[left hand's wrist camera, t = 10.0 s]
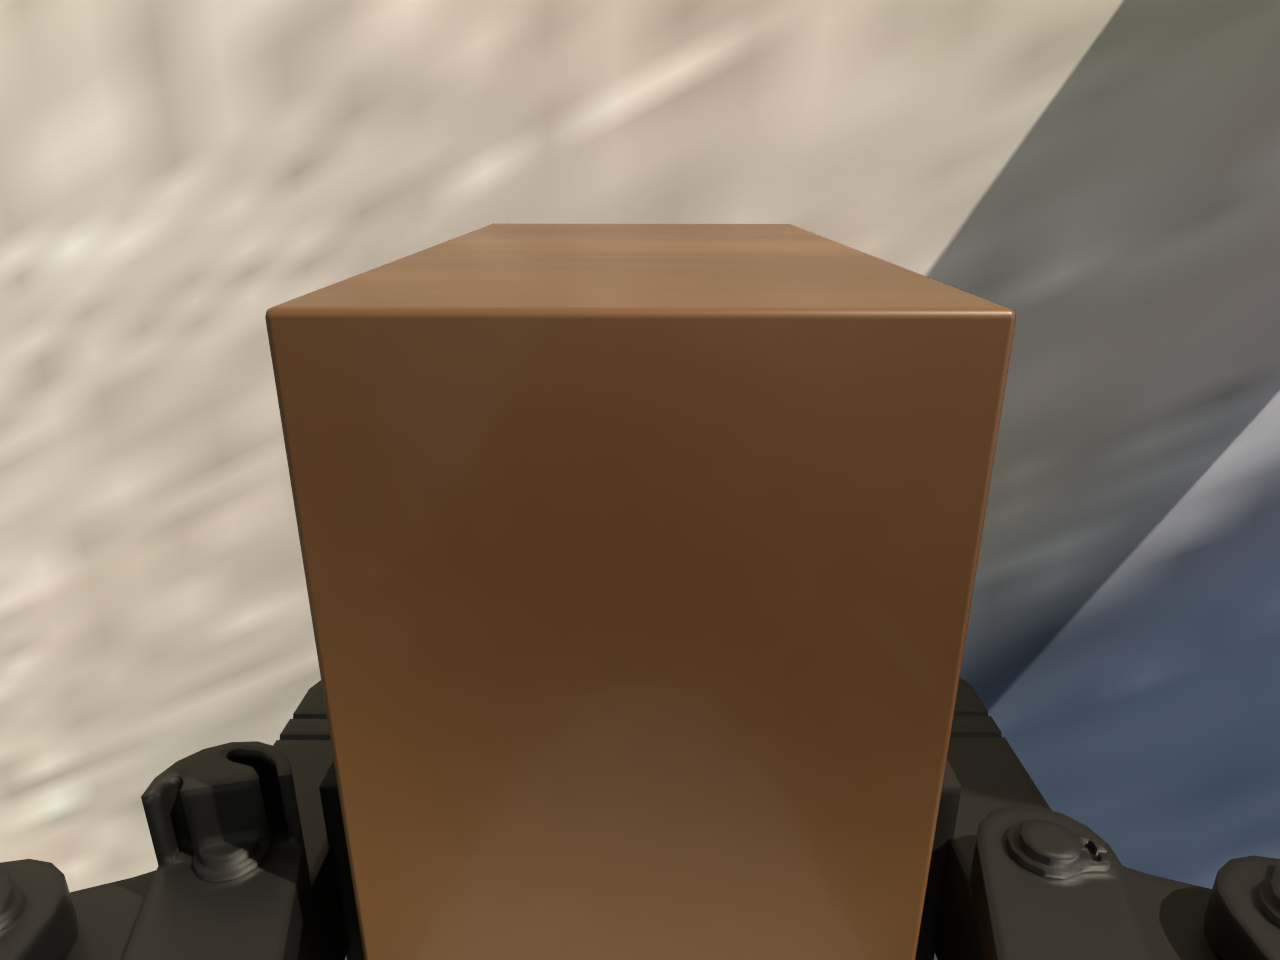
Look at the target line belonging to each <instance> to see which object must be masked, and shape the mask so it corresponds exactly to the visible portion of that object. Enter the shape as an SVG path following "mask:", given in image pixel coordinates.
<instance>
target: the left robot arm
mask: <svg viewBox="0 0 1280 960" xmlns="http://www.w3.org/2000/svg"><path fill="white" fill-rule="evenodd" d="M141 798H142V802H143V806H144V810H145V814H146V818H147V822H148V826H149V830H150V834H151V838H152V842H153V846H154V850H155V853H156V857H157V861H158V865H159V866H158V869H157V870H156V871H153V872H149V873H146V874H143V875H140V876H137V877H133V878H129V879H125V880H121V881H117V882H112V883H108V884H104V885H100V886H96V887H91V888H87V889H83V890H79V891H75V892H71V893H69V889H68V886H67V883H66V880H65V876H64V874H63V873H62V872H61V871H60V870H59V869H57V868H56V867H55V866H54V865H53V864H52V863H49V862H43V861H38V860H32V859H25V860H18V861H10V862H3V863H0V960H345V957H346V956H347V960H365V959H364V953H363V946H362V940H361V933H360V927H359V920H358V914H357V908H356V901H355V895H354V888H353V882H352V875H351V869H350V862H349V856H348V849H347V843H346V836H345V830H344V823H343V817H342V810H341V804H340V797H339V791H338V784H337V778H336V771H335V765H334V759H333V752H332V746H331V739H330V733H329V726H328V720H327V713H326V707H325V700H324V694H323V687H322V681H319V682H318V683H317V684H315V685H314V686H313V687H311V688H310V689H309V690H308V692H307V694H306V695H305V697H304V698H303V700H302V701H301V703H300V705H299V706H298V708H297V709H296V711H295V712H294V714H293V719H290V720H289V722H288V723H287V725H286V726H285V728H284V730H283V731H282V733H281V734H280V740H277V741H276V742H275V744H274V745H273V746H272V745H268V744H264V743H261V742H231V743H227V744H223V745H219V746H215V747H211V748H207V749H203V750H201V751H199V752H197V753H195V754H192V755H190V756H188V757H186V758H184V759H182V760H179V761H177V762H176V763H174V764H173V765H172V766H170V767H169V768H168V769H166V770H165V771H164V772H162V773H161V774H160V775H158V776H157V777H156V778H155V779H154V780H153V781H152V783H151V784H150V785H149V787H148V788H147V790H146V791H145V792H144V794H143V795H142V796H141ZM934 954H936V956H937V959H938V960H1280V859H1274V858H1267V857H1260V856H1248V857H1242V858H1236V859H1231V860H1229V861H1228V862H1227V863H1226V864H1225V865H1224V866H1223V867H1222V868H1221V869H1220V870H1219V871H1218V873H1217V876H1216V879H1215V882H1214V886H1213V889H1208V888H1204V887H1200V886H1195V885H1191V884H1187V883H1183V882H1179V881H1174V880H1170V879H1166V878H1162V877H1158V876H1153V875H1149V874H1146V873H1143V872H1139V871H1136V870H1133V869H1130V868H1127V867H1124V866H1122V865H1121V863H1120V861H1119V860H1118V858H1117V857H1116V855H1115V854H1114V852H1113V850H1112V849H1111V847H1110V846H1109V844H1107V843H1106V842H1105V841H1104V840H1103V839H1101V838H1100V837H1099V836H1098V835H1097V834H1096V833H1094V832H1093V831H1092V830H1091V829H1090V828H1089V827H1087V826H1085V825H1083V824H1081V823H1079V822H1077V821H1075V820H1074V819H1072V818H1070V817H1068V816H1066V815H1064V814H1062V813H1058V812H1054V811H1052V810H1051V809H1050V807H1049V806H1048V804H1047V802H1046V801H1045V799H1044V798H1043V796H1042V795H1041V793H1040V792H1039V790H1038V788H1037V787H1036V785H1035V784H1034V782H1033V781H1032V779H1031V778H1030V776H1029V774H1028V773H1027V771H1026V770H1025V768H1024V767H1023V765H1022V764H1021V762H1020V761H1019V759H1018V757H1017V756H1016V754H1015V753H1014V751H1013V750H1012V748H1011V747H1010V745H1009V743H1008V742H1007V740H1006V739H1005V738H1002V736H1001V731H1000V729H999V728H998V726H997V725H996V723H995V722H994V720H993V719H992V717H991V716H988V711H987V709H986V708H985V706H984V705H983V703H982V701H981V700H980V698H979V697H978V695H977V694H976V692H975V691H974V689H973V687H972V686H971V685H969V684H968V683H967V682H965V681H964V680H963V679H961V678H960V677H959V683H958V689H957V695H956V702H955V708H954V714H953V721H952V727H951V733H950V740H949V746H948V753H947V759H946V765H945V772H944V778H943V784H942V791H941V797H940V803H939V810H938V816H937V822H936V829H935V835H934V841H933V848H932V854H931V860H930V867H929V873H928V879H927V886H926V892H925V899H924V905H923V911H922V918H921V924H920V930H919V937H918V943H917V949H916V956H915V960H934Z"/></svg>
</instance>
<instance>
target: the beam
mask: <svg viewBox="0 0 1280 960" xmlns="http://www.w3.org/2000/svg"><path fill="white" fill-rule="evenodd" d="M265 318H266V324H267V331H268V337H269V344H270V350H271V357H272V363H273V370H274V376H275V383H276V389H277V396H278V402H279V409H280V415H281V422H282V428H283V435H284V441H285V448H286V454H287V461H288V467H289V473H290V480H291V486H292V493H293V499H294V506H295V512H296V519H297V525H298V532H299V538H300V545H301V551H302V558H303V564H304V571H305V577H306V584H307V590H308V597H309V603H310V610H311V616H312V622H313V629H314V635H315V642H316V648H317V655H318V661H319V668H320V674H321V681H322V687H323V694H324V700H325V707H326V713H327V720H328V726H329V733H330V739H331V746H332V752H333V759H334V765H335V771H336V778H337V784H338V791H339V797H340V804H341V810H342V817H343V823H344V830H345V836H346V843H347V849H348V856H349V862H350V869H351V875H352V882H353V888H354V895H355V901H356V908H357V914H358V920H359V927H360V933H361V940H362V946H363V953H364V959H365V960H915V956H916V949H917V943H918V937H919V930H920V924H921V918H922V911H923V905H924V899H925V892H926V886H927V879H928V873H929V867H930V860H931V854H932V848H933V841H934V835H935V829H936V822H937V816H938V810H939V803H940V797H941V791H942V784H943V778H944V772H945V765H946V759H947V753H948V746H949V740H950V733H951V727H952V721H953V714H954V708H955V702H956V695H957V689H958V683H959V676H960V670H961V664H962V657H963V651H964V645H965V638H966V632H967V626H968V619H969V613H970V607H971V600H972V594H973V588H974V581H975V575H976V568H977V562H978V556H979V549H980V543H981V537H982V530H983V524H984V518H985V511H986V505H987V499H988V492H989V486H990V480H991V473H992V467H993V461H994V454H995V448H996V442H997V435H998V429H999V422H1000V416H1001V410H1002V403H1003V397H1004V391H1005V384H1006V378H1007V372H1008V365H1009V359H1010V353H1011V346H1012V340H1013V334H1014V327H1015V321H1016V317H1015V312H1014V311H1013V310H1011V309H1009V308H1006V307H1004V306H1001V305H998V304H996V303H993V302H991V301H988V300H985V299H983V298H980V297H978V296H975V295H972V294H970V293H967V292H965V291H962V290H959V289H957V288H954V287H952V286H949V285H946V284H944V283H941V282H939V281H936V280H933V279H931V278H928V277H926V276H923V275H920V274H918V273H915V272H913V271H910V270H907V269H905V268H902V267H900V266H897V265H894V264H892V263H889V262H887V261H884V260H881V259H879V258H876V257H874V256H871V255H868V254H866V253H863V252H861V251H858V250H855V249H853V248H850V247H848V246H845V245H842V244H840V243H837V242H835V241H832V240H829V239H827V238H824V237H822V236H819V235H816V234H814V233H811V232H809V231H806V230H803V229H801V228H798V227H796V226H793V225H790V224H492V225H489V226H486V227H484V228H481V229H478V230H476V231H473V232H470V233H468V234H465V235H463V236H460V237H457V238H455V239H452V240H449V241H447V242H444V243H441V244H439V245H436V246H433V247H431V248H428V249H425V250H423V251H420V252H417V253H415V254H412V255H410V256H407V257H404V258H402V259H399V260H396V261H394V262H391V263H388V264H386V265H383V266H380V267H378V268H375V269H372V270H370V271H367V272H364V273H362V274H359V275H357V276H354V277H351V278H349V279H346V280H343V281H341V282H338V283H335V284H333V285H330V286H327V287H325V288H322V289H319V290H317V291H314V292H311V293H309V294H306V295H304V296H301V297H298V298H296V299H293V300H290V301H288V302H285V303H282V304H280V305H277V306H274V307H272V308H270V309H268V310H267V312H266V317H265Z"/></svg>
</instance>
